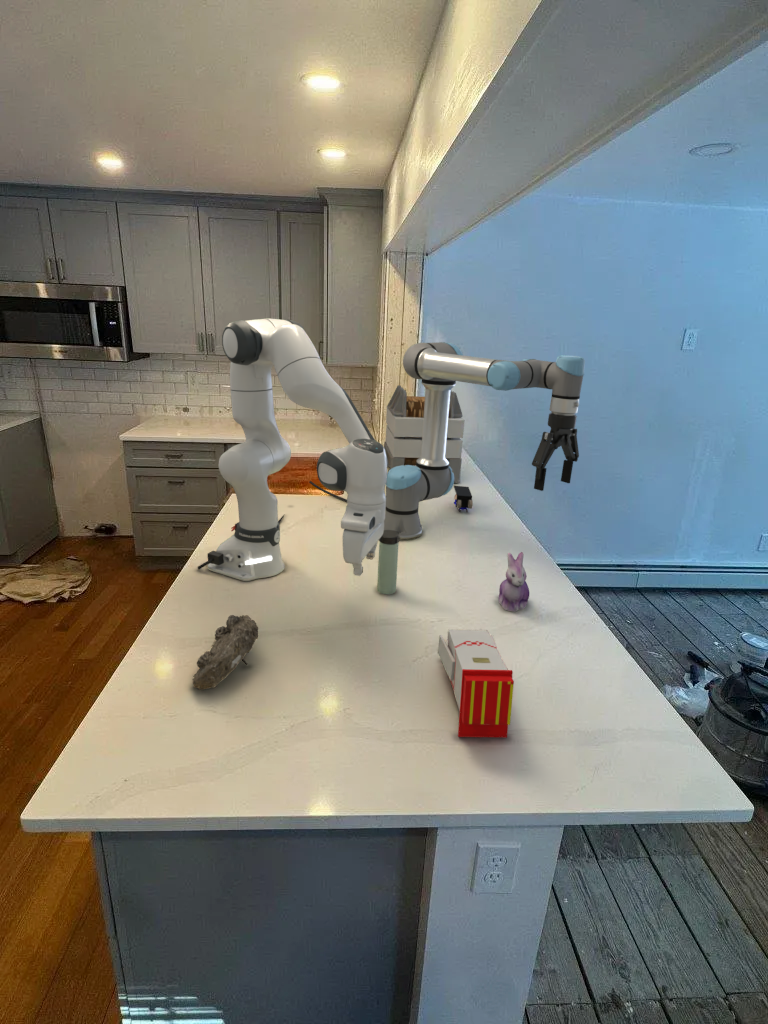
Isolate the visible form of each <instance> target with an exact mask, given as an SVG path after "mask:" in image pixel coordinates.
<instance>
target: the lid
mask: <svg viewBox="0 0 768 1024" xmlns="http://www.w3.org/2000/svg"><path fill="white" fill-rule="evenodd" d="M379 541H380V542H381V543H384V544H396V543H398V542H399V543H400V541H401V540H400V534H399V532H397V531H394V530H384V532H383V535H382V536H381V538H380V539H379V540H378V542H379Z"/></svg>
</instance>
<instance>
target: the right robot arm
mask: <svg viewBox="0 0 768 1024" xmlns="http://www.w3.org/2000/svg"><path fill="white" fill-rule="evenodd" d="M585 365H586V360H585V358H584V357H582V356H578V355H566V354H565V355H564V354H563V355H558V356H557V357H556V360H555V361H549V360H541V359H536V358H524V359H521V360H506V359H505V360H504V359H503V360H502V359H496V358H487V357H479V356H471V355H464V354H463V352H462V350H461V349H460V347H459V346H457V345H456V344H455V343H451V342H445V341H443V342H442V341H441V342H440V341H439V342H438V341H437V342H417V343H414V344H412V345H411V346H409V347H408V348H407V350H406V351H405V353H404V355H403V358H402V366H403V369H404V372H405V373H406V374H407V375H408V376H409V377H411V378H412V379H415V380H421V385H422V386H423V387H424V389H425V392H424V397H425V404H424V419H423V434H422V449H421V457H420V458H418V459H417V461H416V466H413V465H401V466H396V467H394V468H392V469H390V468H389V470H388V471H387V482H386V485H385V496H386V510H385V520H384V530H394V531H397V532H399V534H400V541H410V540H415V539H418V538H420V537H421V536H422V535H423V525H422V524H421V518H420V515H419V507H420V506H419V505H420V502H423V501H427V500H431V499H437V498H440V497H443V496H446V495H448V493H450V492H451V490H452V489H453V488H454V484H455V483H454V473H452V469H451V467H450V466H449V462H448V461H447V459H446V458H445V453H446V441H447V428H448V416H449V404H450V392H451V391H452V389H453V388H454V387H455V386H456V384H457V382H461V383H465V384H473V385H479V386H487V387H491V388H492V389H494V390H496V391H503V392H504V391H511V390H520V389H532V388H533V389H534V388H539V389H546V390H551V398H550V404H549V413H548V418H547V419H548V420H547V426H548V427H549V428H550V431H549V432H548V431H543V432H542V435H541V440H540V442H539V445H538V447H537V449H536V452H535V454H534V457H533V460H532V461H531V466H533V467H535V475H534V477H535V478H534V485H533V489H534V490H537V491H539V492H543V491H544V489H545V484H546V483H545V482H546V476H547V468H546V466H547V465H548V463H549V461H550V459H551V457H552V456H553V454H554V453H555V451H556V450H557V449H558V448H560V447H561V449H562V452H563V455H564V458H565V459H563V463H562V468H561V469H562V470H561V475H560V482H562V483H566V484H571V478H572V472H573V466H574V463H576V462H578V461H579V457H580V453H579V444H578V428H576V423H577V419H578V416H577V414H578V412H579V411H578V410H579V406H580V397H581V391H582V385H583V380H584V376H585ZM309 484H310V485H312V486H313V487H314V488H316V489H317V490H320V491H321V492H323V493H324V494H327V495H329V496H330V497H331V496H332V497H333V498H336V499H339V500H340V501H342V502H345V503H347V498H345V497H342V496H339V495H337V494H334V493H332V492H331V491H328V490H326V489H324V488H322V487H320V486H319V485H317V484H316V483H314V482H313V481H311V480H309Z"/></svg>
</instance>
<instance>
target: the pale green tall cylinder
mask: <svg viewBox="0 0 768 1024" xmlns="http://www.w3.org/2000/svg"><path fill="white" fill-rule="evenodd" d="M399 543H400V541H399V542H398V543H396V544H384V543H381V542H380V541H379V540H378V559H377V560H378V561H377V563H378V564H377V583H376V584H377V585H376V590H377V592H378V593H379V594H382V595H392V594H393V595H394V594H395V593H396V592H397V580H398V579H397V578H398V576H397V575H398V561H399Z"/></svg>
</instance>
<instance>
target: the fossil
mask: <svg viewBox="0 0 768 1024" xmlns="http://www.w3.org/2000/svg"><path fill="white" fill-rule="evenodd" d="M258 639H259V627H258V625H257V622H256V621H255V619H252V618H251V617H250V616H249V615H248V614H244V615H243V614H242V615H240V616H238V615H235V614H230V615H228V617H227V620H226V621H225V626H224V625H223V626H219V627H217V628H216V629H215V631H214V642H213V644H212V645H211V648H210V649H209V650H207V651H205V652H204V653H203V654H201V655H200V656H199V657H198V659H197V661H196V666H197V668H198V670H197V671H196V672H195V673H193V675H192V676H193V678H192V683H193V688H195V689H198V690H200V691H203V690H207V689H211V688H212V689H214V688H216V687H217V686H218V685H219V684H220V683H221V682H222V681H224V680H225V679H226V678H227V677H228V676H229V675H230V674H231V673H232V672H233V671H234V670H236V668H237V667H238V664H239V663H241V662H242V663H243V664H244V665H245V666H248V665H249V664H248V662H247V661H246V659H244V658H245V656H246V655H247V654H249V653H250V652H251V650H252V649H253V646H254V645H255V643H256V641H257V640H258Z"/></svg>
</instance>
